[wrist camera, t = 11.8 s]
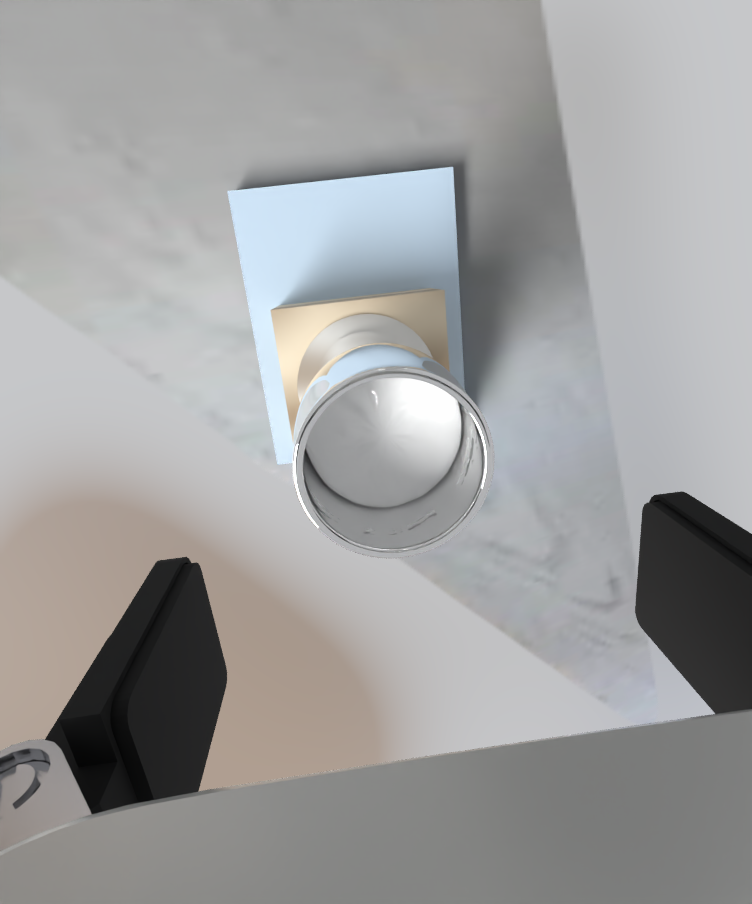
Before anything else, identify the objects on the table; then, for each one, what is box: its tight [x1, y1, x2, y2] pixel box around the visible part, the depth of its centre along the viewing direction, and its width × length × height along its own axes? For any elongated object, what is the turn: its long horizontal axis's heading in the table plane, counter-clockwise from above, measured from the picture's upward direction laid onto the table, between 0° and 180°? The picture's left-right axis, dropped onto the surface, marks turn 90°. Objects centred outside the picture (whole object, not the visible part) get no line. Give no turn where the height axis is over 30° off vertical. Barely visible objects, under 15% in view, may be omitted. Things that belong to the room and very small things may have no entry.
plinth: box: [270, 288, 450, 441], centre depth 33 cm, size 10×10×5 cm
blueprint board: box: [228, 167, 465, 465], centre depth 35 cm, size 18×14×2 cm
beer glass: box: [292, 331, 494, 558], centre depth 24 cm, size 7×7×15 cm
